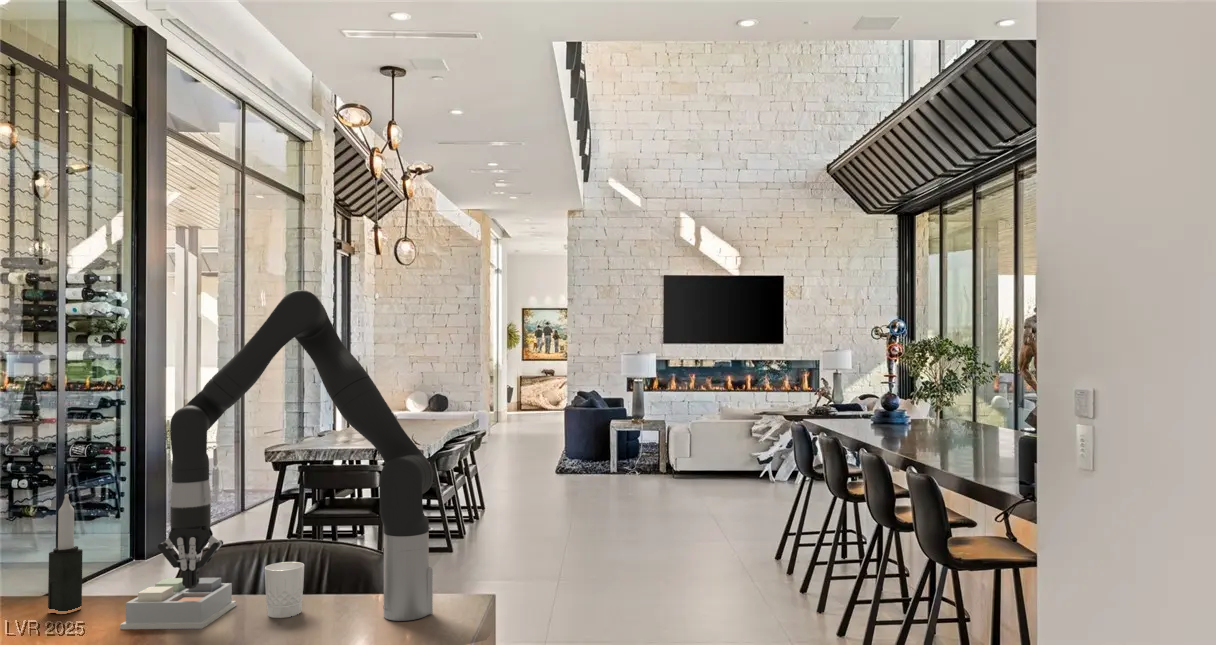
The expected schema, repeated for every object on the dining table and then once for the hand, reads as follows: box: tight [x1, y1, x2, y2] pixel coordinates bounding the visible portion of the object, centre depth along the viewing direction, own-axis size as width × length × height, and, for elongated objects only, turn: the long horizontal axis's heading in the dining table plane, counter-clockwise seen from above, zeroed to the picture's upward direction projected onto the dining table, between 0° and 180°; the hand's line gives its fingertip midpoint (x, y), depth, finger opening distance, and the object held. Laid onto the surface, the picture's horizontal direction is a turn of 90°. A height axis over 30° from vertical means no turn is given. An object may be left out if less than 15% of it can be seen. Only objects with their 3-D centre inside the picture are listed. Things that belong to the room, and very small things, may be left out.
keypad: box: [119, 582, 237, 630], centre depth 186 cm, size 16×16×5 cm
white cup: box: [264, 561, 305, 619], centre depth 188 cm, size 8×8×10 cm
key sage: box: [154, 577, 185, 592], centre depth 190 cm, size 5×5×3 cm
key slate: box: [189, 577, 222, 592], centre depth 190 cm, size 5×5×3 cm
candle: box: [47, 493, 84, 611], centre depth 192 cm, size 5×5×25 cm
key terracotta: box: [178, 597, 204, 601], centre depth 183 cm, size 5×5×3 cm
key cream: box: [137, 586, 173, 602], centre depth 183 cm, size 5×5×3 cm
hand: (190, 587), depth 183 cm, fingers closed
